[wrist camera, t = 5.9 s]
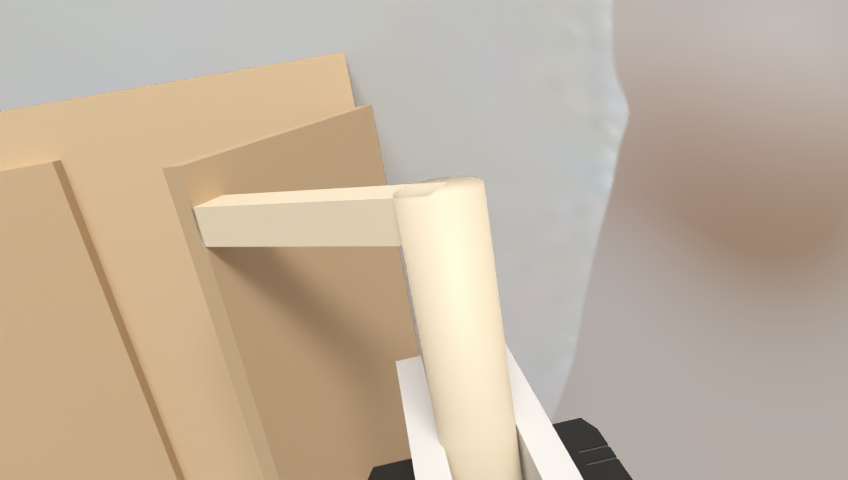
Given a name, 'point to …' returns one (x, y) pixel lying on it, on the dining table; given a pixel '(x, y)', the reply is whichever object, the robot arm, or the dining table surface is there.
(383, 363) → the flap
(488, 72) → the dining table surface
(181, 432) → the carton
